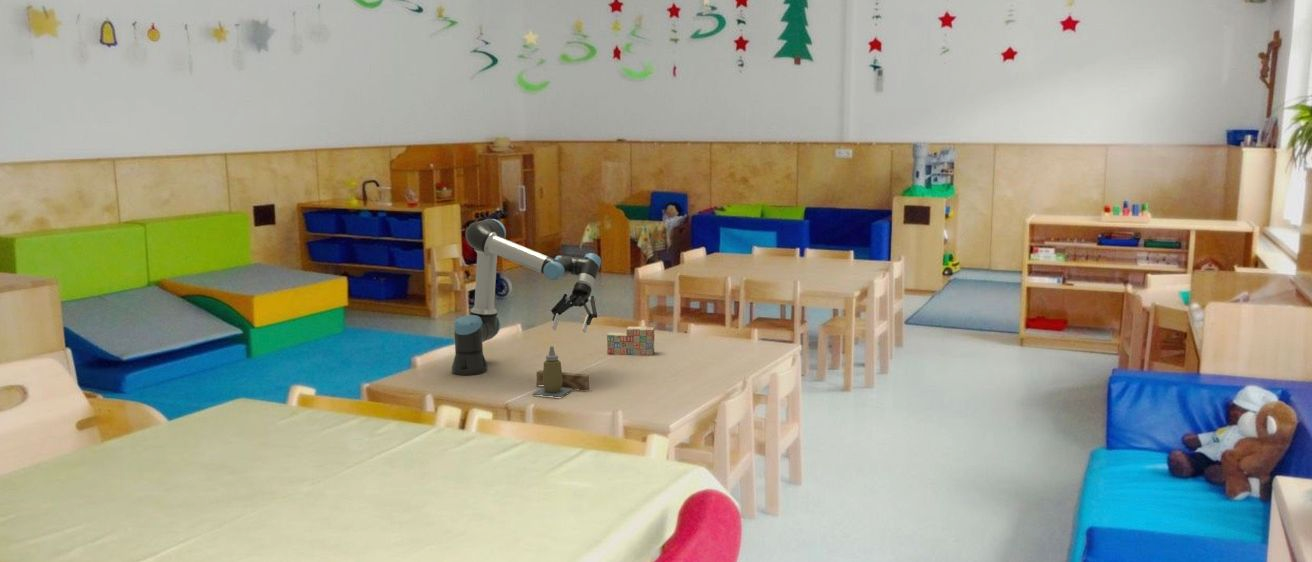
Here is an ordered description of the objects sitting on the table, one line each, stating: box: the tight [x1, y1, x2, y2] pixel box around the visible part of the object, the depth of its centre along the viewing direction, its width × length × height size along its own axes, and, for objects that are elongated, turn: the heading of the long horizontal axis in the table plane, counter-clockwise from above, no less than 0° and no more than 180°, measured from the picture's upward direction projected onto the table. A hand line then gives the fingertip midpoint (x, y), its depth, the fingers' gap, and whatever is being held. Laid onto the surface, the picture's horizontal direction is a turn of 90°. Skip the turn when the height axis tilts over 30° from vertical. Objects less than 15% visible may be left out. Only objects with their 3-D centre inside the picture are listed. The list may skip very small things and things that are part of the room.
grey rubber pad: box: [532, 387, 574, 398], centre depth 386 cm, size 12×12×1 cm
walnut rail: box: [536, 369, 590, 391], centre depth 394 cm, size 22×3×6 cm, turn 70°
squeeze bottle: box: [542, 345, 563, 392], centre depth 385 cm, size 8×8×18 cm
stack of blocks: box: [606, 326, 655, 356], centre depth 451 cm, size 21×6×12 cm, turn 83°
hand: (568, 329), depth 397 cm, fingers open, 13 cm apart
